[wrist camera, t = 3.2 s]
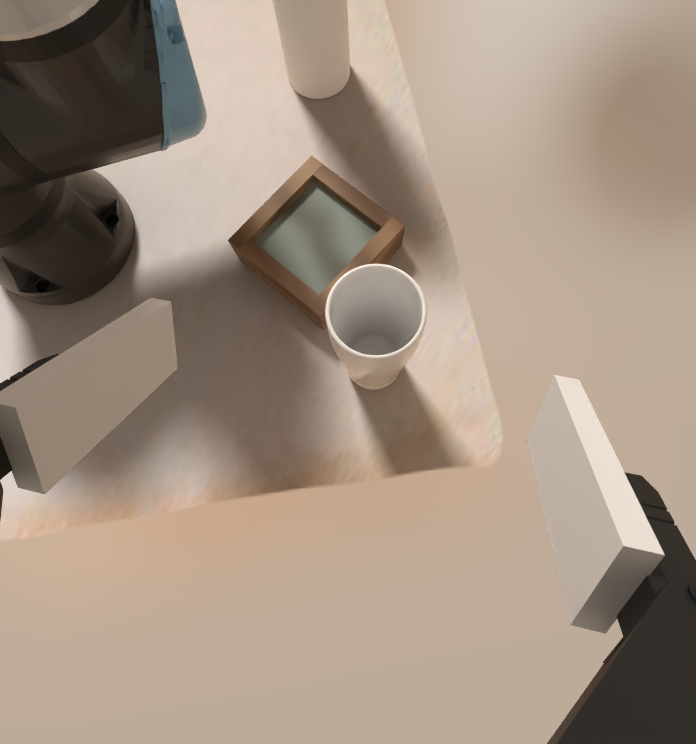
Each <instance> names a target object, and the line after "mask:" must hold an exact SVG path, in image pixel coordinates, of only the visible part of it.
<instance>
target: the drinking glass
mask: <svg viewBox="0 0 696 744" xmlns="http://www.w3.org/2000/svg"><path fill="white" fill-rule="evenodd" d="M325 317H326V324H327V330H328V335H329V338H330V341H331V344H332V346H333V348H334V350H335V352H336V354H337V356H338V357H339V359H340V360H341V362H342V363H343V365H344V366H345V368H346V369H347V372H348V374H349V376H350V378H351V379H352V380H353V381H354V382H355V383H356V384H357V385H359V386H361V387H363V388H366V389H371V390H376V389H381V388H384V387H387V386H388V385H390V384H391V383H392V382H393V381H394V380H395V379H396V378H397V376H398V375H399V372H400V371H401V369H402V368H403V367H404V366H405V365H406V363H407V362H408V361H409V360H410V358H411V357H412V356H413V354H414V352H415V351H416V349H417V347H418V345H419V343H420V340H421V338H422V335H423V331H424V327H425V323H426V317H427V306H426V301H425V297H424V295H423V292H422V290H421V288H420V287H419V285H418V284H417V283H416V281H415V280H414V279H413V278H412V277H411V276H409V275H408V274H407V273H405V272H404V271H402V270H400V269H398V268H396V267H393V266H390V265H385V264H367V265H363V266H359V267H357V268H354V269H352V270H350V271H348V272H347V273H346V274H344V275H343V276H342V277H341V278H340V279H339V280H338V281H337V282H336V283H335V284H334V286H333V287H332V289H331V291H330V293H329V295H328V298H327V301H326V307H325Z"/></svg>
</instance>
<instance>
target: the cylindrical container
mask: <svg viewBox="0 0 696 744" xmlns="http://www.w3.org/2000/svg"><path fill="white" fill-rule="evenodd" d="M273 5H274V10H275V15H276V20H277V25H278V30H279V34H280V39H281V44H282V49H283V54H284V59H285V64H286V69H287V74H288V78H289V82H290V84H291V86H292V87H293V89H294V90H295V91H296V92H297V93H299V94H300V95H302V96H304V97H307V98H312V99H323V98H328V97H331V96H333V95H335V94H337V93H338V92H340V91H341V90H342V89H343V88H344V87H345V85H346V84H347V82H348V80H349V77H350V55H349V34H348V13H347V0H273Z"/></svg>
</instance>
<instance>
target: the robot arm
mask: <svg viewBox="0 0 696 744" xmlns="http://www.w3.org/2000/svg"><path fill="white" fill-rule="evenodd" d="M205 122H206V109H205V105H204V102H203V98H202V94H201V91H200V87H199V84H198V80H197V77H196V73H195V70H194V66H193V62H192V59H191V55H190V52H189V48H188V45H187V41H186V38H185V34H184V30H183V27H182V23H181V19H180V16H179V12H178V9H177V5H176V1H175V0H0V284H1V285H2V286H3V287H5V288H6V289H8V290H10V291H12V292H14V293H16V294H18V295H20V296H22V297H24V298H26V299H28V300H30V301H33V302H37V303H41V304H51V305H55V304H66V303H71V302H75V301H78V300H81V299H83V298H86V297H88V296H90V295H92V294H94V293H95V292H97V291H98V290H100V289H101V288H103V287H104V286H105V285H106V284H108V283H109V282H110V281H111V280H112V279H113V278H114V277H115V276H116V274H117V273H118V272H119V271H120V269H121V268H122V266H123V265H124V263H125V261H126V259H127V257H128V255H129V253H130V250H131V247H132V243H133V237H134V223H133V217H132V213H131V210H130V208H129V206H128V204H127V202H126V200H125V199H124V198H123V196H122V195H121V194H120V193H119V192H118V191H117V190H116V188H115V187H114V186H113V185H112V184H111V183H110V182H109V181H108V180H107V179H106V178H105V177H103V176H102V175H101V174H99V173H98V172H96V171H94V170H92V169H95V168H98V167H102V166H106V165H109V164H113V163H116V162H120V161H124V160H127V159H131V158H134V157H138V156H142V155H145V154H149V153H153V152H156V151H160V150H161V151H163V150H167V149H168V147H169V146H171V145H173V144H176V143H179V142H181V141H184V140H187V139H189V138H192V137H195V136H196V135H198V134H199V133H200V131H201V130H202V129H203V128H204V126H205ZM177 369H178V365H177V355H176V345H175V335H174V324H173V314H172V304H171V301H166V300H161V299H156V298H150V299H148V300H146V301H145V302H143V303H141V304H140V305H138V306H137V307H135V308H133V309H132V310H130V311H129V312H127V313H125V314H124V315H122V316H121V317H119V318H117V319H116V320H114V321H112V322H111V323H109V324H108V325H106V326H104V327H103V328H101V329H100V330H98V331H96V332H95V333H93V334H92V335H90V336H88V337H87V338H85V339H84V340H82V341H80V342H79V343H77V344H75V345H74V346H72V347H71V348H69V349H67V350H66V351H64V352H63V353H61V354H56V355H53V356H50V357H47V358H44V359H41V360H39V361H37V362H35V363H33V364H32V365H30V366H28V367H27V368H25V369H23V372H18V373H17V374H15V375H14V376H12V377H10V380H8V379H7V380H5V381H4V382H2V383H0V480H1V479H2V478H3V477H4V476H5V475H7V474H8V473H9V472H10V471H12V473H13V476H14V478H15V481H16V484H17V486H18V488H22V489H26V490H30V491H34V492H38V493H42V494H45V493H46V492H48V491H49V490H50V489H51V488H52V487H53V486H54V485H55V484H56V483H57V482H58V481H59V480H60V479H61V478H62V477H63V476H64V475H66V474H67V473H68V472H69V471H70V470H71V469H72V468H73V467H74V466H75V465H76V464H77V463H78V462H79V461H80V460H81V459H82V458H84V457H85V456H86V455H87V454H88V453H89V452H90V451H91V450H92V449H93V448H94V447H95V446H96V445H97V444H98V443H99V442H100V441H102V440H103V439H104V438H105V437H106V436H107V435H108V434H109V433H110V432H111V431H112V430H113V429H114V428H115V427H116V426H117V425H118V424H120V423H121V422H122V421H123V420H124V419H125V418H126V417H127V416H128V415H129V414H130V413H131V412H132V411H133V410H134V409H135V408H136V407H138V406H139V405H140V404H141V403H142V402H143V401H144V400H145V399H146V398H147V397H148V396H149V395H150V394H151V393H152V392H153V391H154V390H156V389H157V388H158V387H159V386H160V385H161V384H162V383H163V382H164V381H165V380H166V379H167V378H168V377H169V376H170V375H171V374H172V373H174V372H175V371H176V370H177ZM527 445H528V449H529V453H530V457H531V461H532V466H533V470H534V474H535V478H536V482H537V486H538V491H539V495H540V499H541V504H542V508H543V512H544V516H545V520H546V524H547V529H548V533H549V537H550V541H551V546H552V550H553V554H554V558H555V562H556V567H557V571H558V575H559V579H560V583H561V587H562V591H563V596H564V600H565V604H566V609H567V613H568V617H569V621H570V625H573V626H577V627H581V628H585V629H589V630H593V631H598V632H601V633H606V632H607V631H608V630H609V628H610V627H611V626H612V624H613V623H614V622H615V620H616V619H618V622H619V625H620V628H621V631H622V634H623V638H622V639H621V641H620V642H619V643H618V644H617V645H616V647H615V648H614V649H613V651H612V652H611V653H610V654H609V656H608V657H607V658H606V659H605V661H604V662H603V663H604V664H603V665H602V667H601V668H600V670H599V671H598V673H597V674H596V675H595V677H594V678H593V680H592V681H591V682H590V684H589V685H588V687H587V688H586V689H585V691H584V692H583V694H582V695H581V696H580V698H579V699H578V701H577V702H576V704H575V705H574V706H573V708H572V709H571V711H570V712H569V713H568V715H567V716H566V718H565V719H564V721H563V722H562V723H561V725H560V726H559V728H558V729H557V730H556V732H555V733H554V735H553V736H552V737H551V739H550V740H549V742H548V743H547V744H696V560H695V558H694V556H693V555H692V553H691V551H690V549H689V547H688V546H687V544H686V542H685V540H684V538H683V537H682V535H681V533H680V531H679V529H678V528H677V526H676V525H674V520H673V518H672V517H671V515H670V513H669V512H667V508H666V506H665V504H664V502H663V500H662V498H661V497H660V495H659V493H658V492H657V491H656V490H655V489H654V488H653V487H652V486H651V485H650V484H649V483H648V482H647V481H646V480H645V479H644V478H643V477H642V476H640V475H635V474H630V473H625V472H624V471H623V469H622V467H621V465H620V462H619V460H618V458H617V456H616V454H615V452H614V450H613V448H612V446H611V444H610V442H609V440H608V438H607V436H606V434H605V432H604V430H603V428H602V426H601V424H600V422H599V420H598V418H597V415H596V414H595V411H594V409H593V407H592V405H591V403H590V401H589V399H588V397H587V395H586V393H585V391H584V389H583V387H582V385H581V383H580V381H579V380H578V379H573V378H568V377H562V376H557V375H554V377H553V379H552V382H551V384H550V387H549V389H548V391H547V394H546V396H545V398H544V401H543V403H542V406H541V408H540V410H539V413H538V415H537V418H536V420H535V422H534V425H533V427H532V429H531V432H530V434H529V437H528V439H527ZM2 498H3V488H2V484H1V482H0V519H1V508H2Z"/></svg>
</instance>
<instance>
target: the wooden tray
mask: <svg viewBox="0 0 696 744" xmlns="http://www.w3.org/2000/svg"><path fill="white" fill-rule="evenodd" d="M404 226H405V225H403V224H402V223H401V222H399V221H398V220H397V219H395V218H394V217H393V216H391V215H390V214H389V213H387V212H386V211H385V210H383V209H382V208H381V207H379V206H378V205H377V204H375V203H374V202H373V201H371V200H370V199H369V198H367V197H366V196H365V195H363V194H362V193H361V192H359V191H358V190H357V189H355V188H354V187H353V186H351V185H350V184H349V183H347V182H346V181H345V180H343V179H342V178H341V177H339V176H338V175H337V174H335V173H334V172H333V171H331V170H330V169H329V168H327V167H326V166H325V165H323V164H322V163H321V162H319V161H318V160H317V159H315V158H314V157H313V156H311V157H310V158H309V159H308V160H307V161H306V162H305V163H304V164H303V165H302V166H301V167H300V168H299V169H298V170H297V171H296V172H295V173H294V174H293V175H292V176H291V177H290V178H289V179H288V180H287V181H286V182H285V183H284V184H283V185H282V186H281V187H280V188H279V189H278V190H277V191H276V192H275V193H274V194H273V195H272V196H271V197H270V198H269V199H268V200H267V201H266V202H265V203H264V204H263V205H262V206H261V207H260V208H259V209H258V210H257V211H256V212H255V213H254V214H253V215H252V216H251V217H250V218H249V219H248V220H247V221H246V222H245V223H244V224H243V225H242V227H241V228H240V229H239V230H238V231H237V232H236V233H235V234H234V235H233V236H232V237H231V238H230V239H229V240H228V241H229V243H230V244H231V246H232V248H233V249H234V251H235V252H236V254H237V256H238V257H239V259H241V260H242V261H243V262H244V263H245V264H247V265H248V266H249V267H250V268H251V269H253V270H254V271H255V272H256V273H257V274H259V275H260V276H261V277H262V278H263V279H265V280H266V281H267V282H268V283H269V284H271V285H272V286H273V287H274V288H275V289H277V290H278V291H279V292H280V293H281V294H283V295H284V296H285V297H286V298H287V299H288V300H290V301H291V302H292V303H293V304H294V305H296V306H297V307H298V308H299V309H300V310H302V311H303V312H304V313H305V314H306V315H308V316H309V317H310V318H311V319H312V320H314V321H315V322H316V323H317V324H318V325H320V326H321V327H322V328H323V329H325V328H326V327H327V324H326V317H325V307H326V301H327V298H328V295H329V293H330V291H331V289H332V287H333V286H334V284H335V283H336V282H337V281H338V280H339V279H340V278H341V277H342V276H343V275H344V274H346V273H347V272H348V271H350V270H352V269H354V268H357V267H359V266H363V265H367V264H385V262H386V261H387V260H388V259H389V258H390V257H391V256H392V255H393V254H394V253H395V252H396V250H397V249H398V248H399V247H400V246H401V245H402V240H403V233H404Z"/></svg>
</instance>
